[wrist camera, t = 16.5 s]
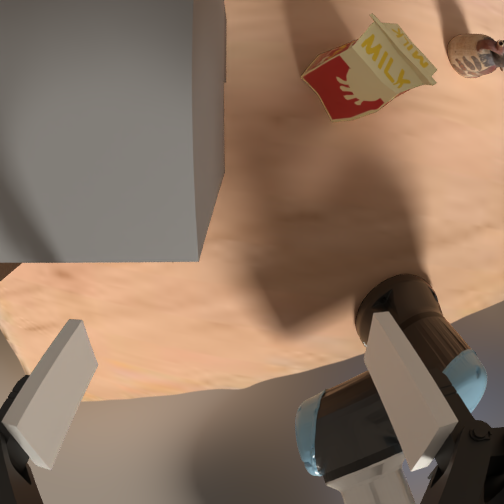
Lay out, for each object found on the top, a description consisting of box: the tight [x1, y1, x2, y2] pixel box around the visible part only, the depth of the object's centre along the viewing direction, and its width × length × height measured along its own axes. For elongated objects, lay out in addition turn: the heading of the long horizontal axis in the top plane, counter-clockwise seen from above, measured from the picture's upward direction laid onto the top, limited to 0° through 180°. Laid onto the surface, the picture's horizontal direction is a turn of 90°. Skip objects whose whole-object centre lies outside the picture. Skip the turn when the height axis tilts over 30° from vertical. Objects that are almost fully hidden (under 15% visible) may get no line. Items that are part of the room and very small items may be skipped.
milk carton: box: [301, 14, 437, 122], centre depth 28 cm, size 9×9×20 cm
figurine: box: [448, 34, 504, 78], centre depth 29 cm, size 7×7×12 cm
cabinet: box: [0, 0, 226, 263], centre depth 23 cm, size 22×28×30 cm
